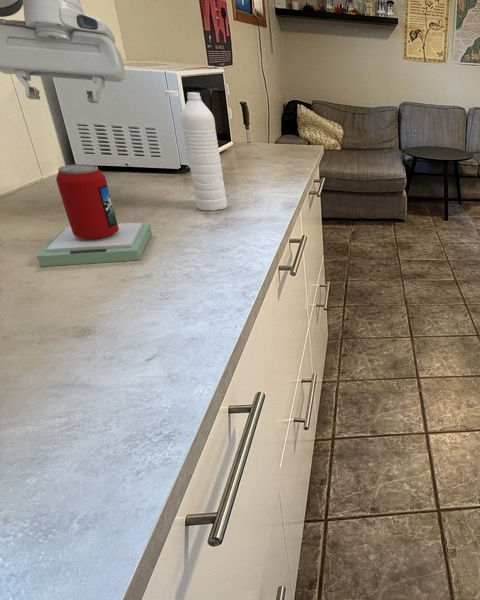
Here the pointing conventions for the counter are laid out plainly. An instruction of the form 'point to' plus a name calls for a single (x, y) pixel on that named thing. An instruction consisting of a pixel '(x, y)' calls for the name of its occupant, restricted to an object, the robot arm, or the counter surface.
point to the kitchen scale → (96, 247)
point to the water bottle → (202, 153)
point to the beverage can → (87, 201)
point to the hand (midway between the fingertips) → (64, 100)
